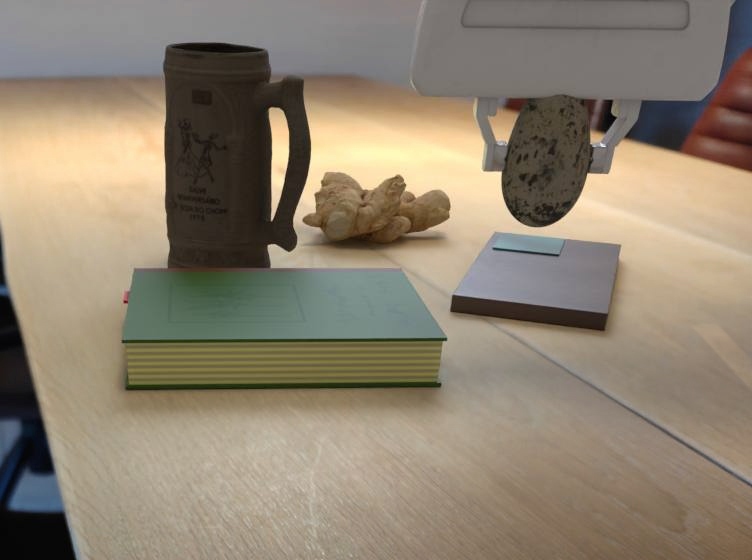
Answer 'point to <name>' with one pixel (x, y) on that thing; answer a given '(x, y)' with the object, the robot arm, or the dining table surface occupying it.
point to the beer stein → (228, 156)
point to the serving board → (541, 280)
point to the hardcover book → (278, 329)
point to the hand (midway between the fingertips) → (543, 171)
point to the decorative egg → (547, 159)
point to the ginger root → (374, 209)
